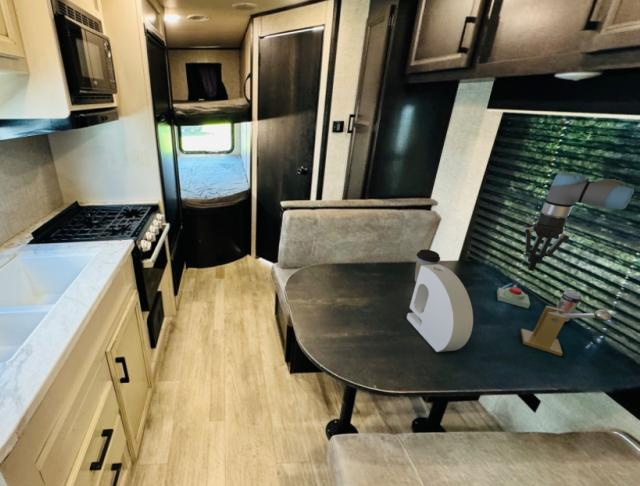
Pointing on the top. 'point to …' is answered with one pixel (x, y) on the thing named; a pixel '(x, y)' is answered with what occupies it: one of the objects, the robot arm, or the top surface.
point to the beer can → (569, 302)
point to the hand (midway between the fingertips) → (530, 269)
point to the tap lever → (588, 315)
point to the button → (515, 290)
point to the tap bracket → (546, 332)
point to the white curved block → (441, 308)
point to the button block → (513, 297)
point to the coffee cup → (426, 260)
